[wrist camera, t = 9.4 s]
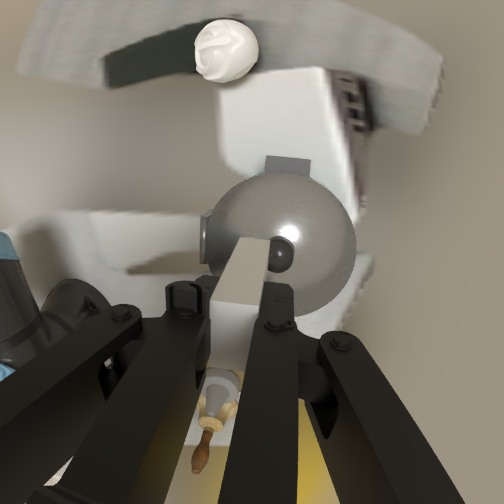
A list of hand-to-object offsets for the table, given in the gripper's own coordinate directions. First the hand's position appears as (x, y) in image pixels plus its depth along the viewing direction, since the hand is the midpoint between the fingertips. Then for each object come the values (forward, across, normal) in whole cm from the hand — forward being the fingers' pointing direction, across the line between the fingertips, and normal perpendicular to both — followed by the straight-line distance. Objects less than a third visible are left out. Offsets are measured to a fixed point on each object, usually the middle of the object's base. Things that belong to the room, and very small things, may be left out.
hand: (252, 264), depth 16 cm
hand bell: (+25, -6, -39) cm, 47 cm away
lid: (+15, +1, -4) cm, 16 cm away
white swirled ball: (+25, -7, +17) cm, 31 cm away
